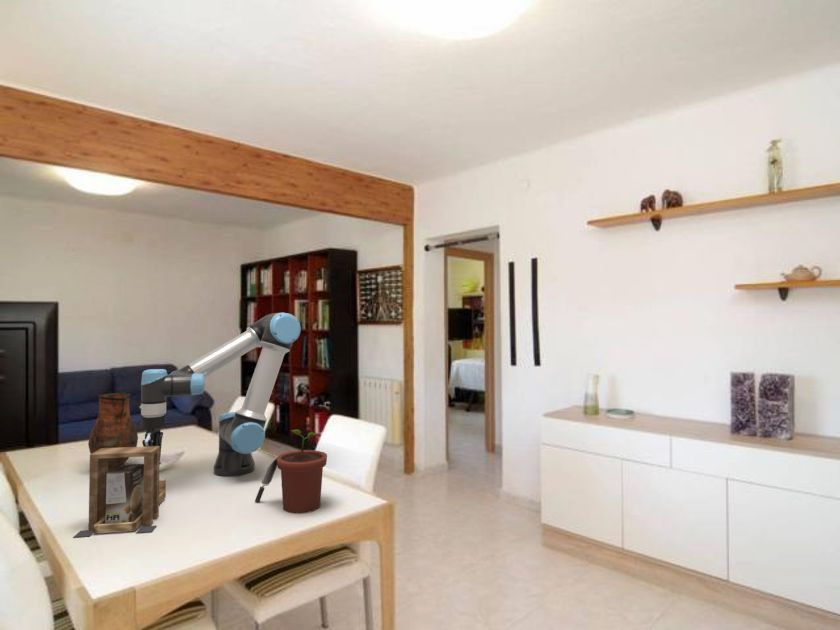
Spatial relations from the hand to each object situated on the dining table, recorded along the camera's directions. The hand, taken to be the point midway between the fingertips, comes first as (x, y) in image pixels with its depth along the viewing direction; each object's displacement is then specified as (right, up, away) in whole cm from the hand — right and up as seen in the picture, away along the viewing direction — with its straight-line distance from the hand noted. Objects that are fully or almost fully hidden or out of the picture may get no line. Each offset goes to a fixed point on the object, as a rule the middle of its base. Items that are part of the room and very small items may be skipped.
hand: (152, 485), depth 164 cm
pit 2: (+13, -3, -27) cm, 30 cm away
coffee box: (+5, -3, -23) cm, 23 cm away
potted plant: (+50, -4, -7) cm, 51 cm away
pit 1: (-2, -3, -30) cm, 30 cm away
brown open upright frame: (+5, -3, -23) cm, 23 cm away
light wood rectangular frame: (+3, -3, -17) cm, 17 cm away
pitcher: (-32, -4, +29) cm, 43 cm away
